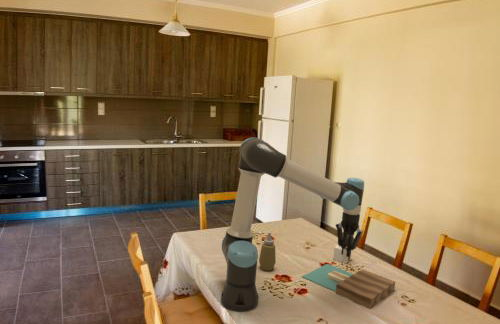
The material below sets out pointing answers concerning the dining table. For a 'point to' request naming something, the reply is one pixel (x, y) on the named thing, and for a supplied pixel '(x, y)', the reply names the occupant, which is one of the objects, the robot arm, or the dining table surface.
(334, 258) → the medicine bottle
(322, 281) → the mat
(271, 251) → the squeeze bottle
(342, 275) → the tile
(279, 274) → the dining table surface
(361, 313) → the dining table surface
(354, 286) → the block
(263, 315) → the dining table surface
